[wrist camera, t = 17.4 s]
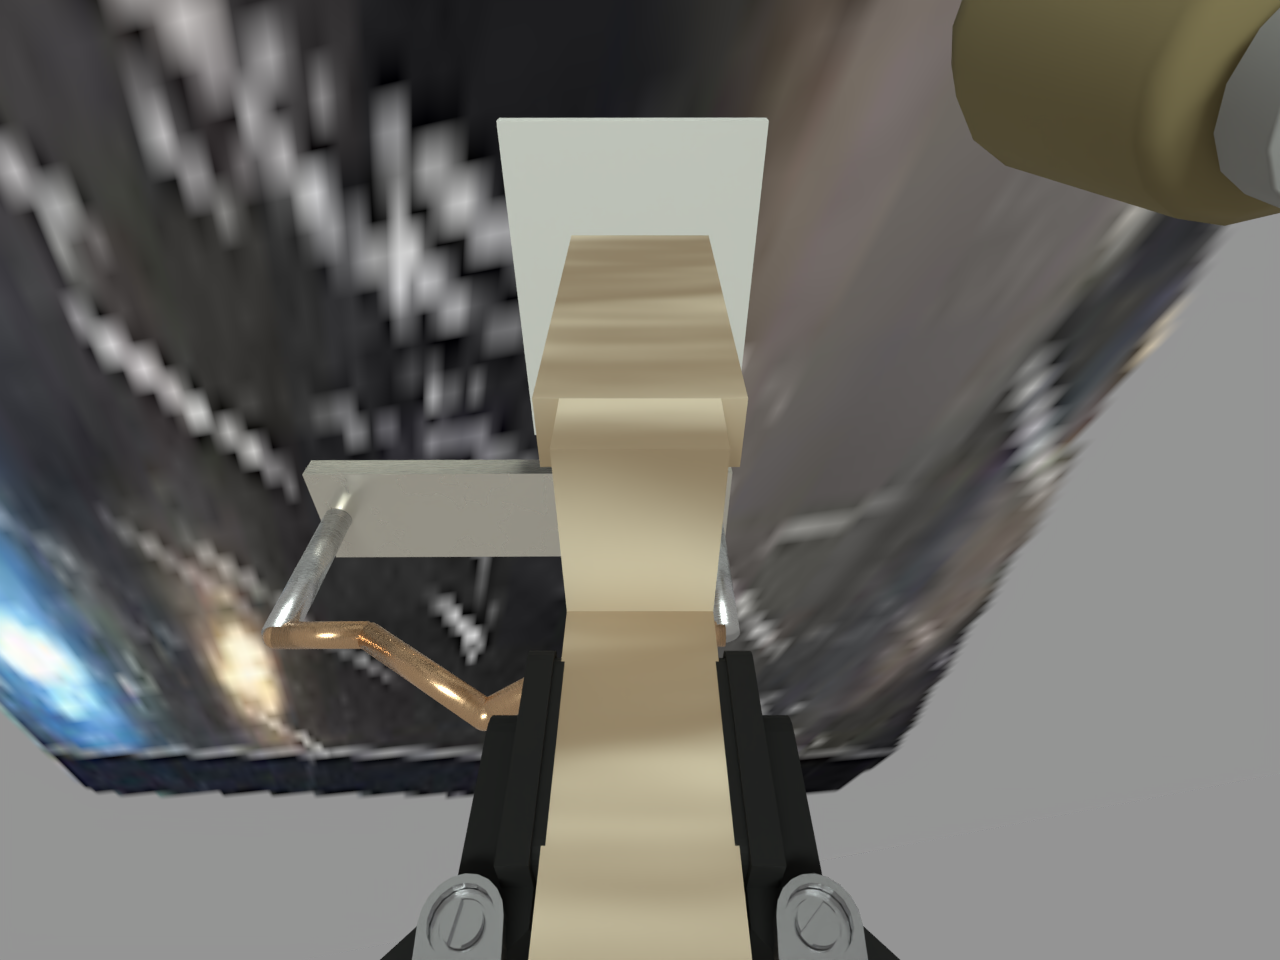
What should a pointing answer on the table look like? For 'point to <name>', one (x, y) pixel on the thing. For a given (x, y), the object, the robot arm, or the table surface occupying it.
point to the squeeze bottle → (1130, 98)
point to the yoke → (640, 605)
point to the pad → (628, 199)
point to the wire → (433, 553)
